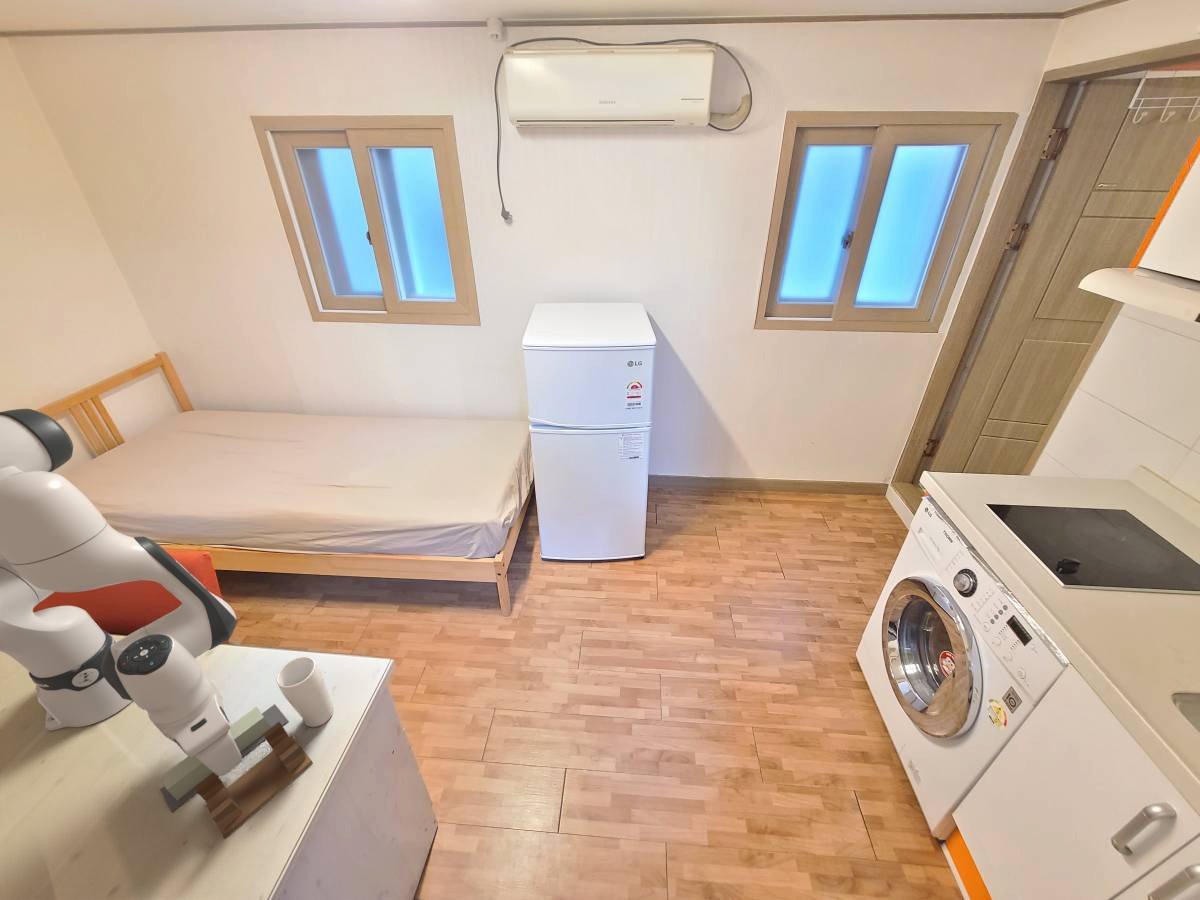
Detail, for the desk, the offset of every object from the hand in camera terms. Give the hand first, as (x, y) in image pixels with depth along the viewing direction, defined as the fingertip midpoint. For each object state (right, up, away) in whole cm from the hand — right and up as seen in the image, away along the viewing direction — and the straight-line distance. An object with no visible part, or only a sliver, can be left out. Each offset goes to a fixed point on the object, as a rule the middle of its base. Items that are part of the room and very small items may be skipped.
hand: (221, 750), depth 93 cm
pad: (0, -2, +1) cm, 2 cm away
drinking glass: (+14, +2, +8) cm, 17 cm away
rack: (+10, -4, -3) cm, 11 cm away
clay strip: (0, -2, +1) cm, 2 cm away
